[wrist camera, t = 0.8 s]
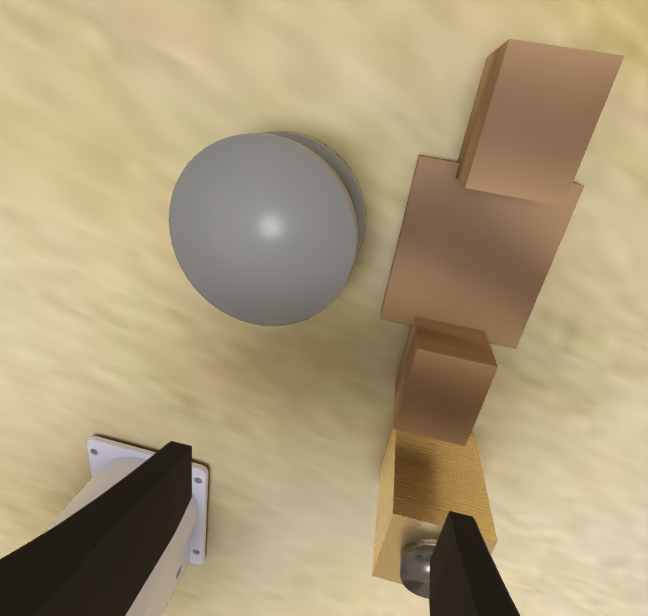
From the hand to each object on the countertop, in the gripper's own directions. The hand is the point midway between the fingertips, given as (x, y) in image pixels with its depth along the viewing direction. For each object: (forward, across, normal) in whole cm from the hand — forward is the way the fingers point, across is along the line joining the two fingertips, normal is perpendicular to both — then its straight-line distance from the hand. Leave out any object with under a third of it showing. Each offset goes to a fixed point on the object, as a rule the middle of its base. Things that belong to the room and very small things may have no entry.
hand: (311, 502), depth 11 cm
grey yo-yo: (+10, +4, -5) cm, 12 cm away
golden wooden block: (+10, -5, +6) cm, 12 cm away
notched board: (+10, -4, -5) cm, 12 cm away
